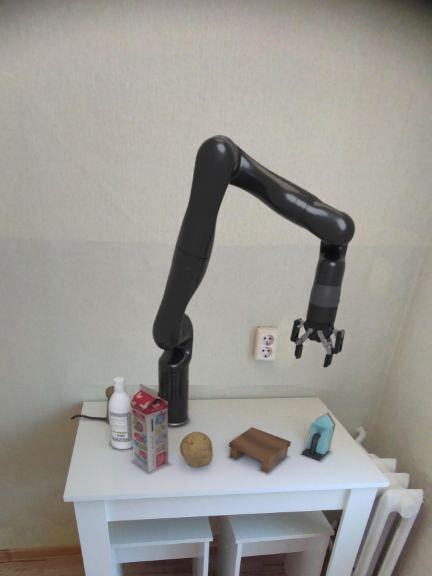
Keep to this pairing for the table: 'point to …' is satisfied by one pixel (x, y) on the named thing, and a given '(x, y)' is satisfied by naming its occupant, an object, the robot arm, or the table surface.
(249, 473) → the table surface
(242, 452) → the stand
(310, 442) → the iron
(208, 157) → the robot arm
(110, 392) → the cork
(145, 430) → the milk carton
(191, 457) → the natural sponge
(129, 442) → the bath foam
